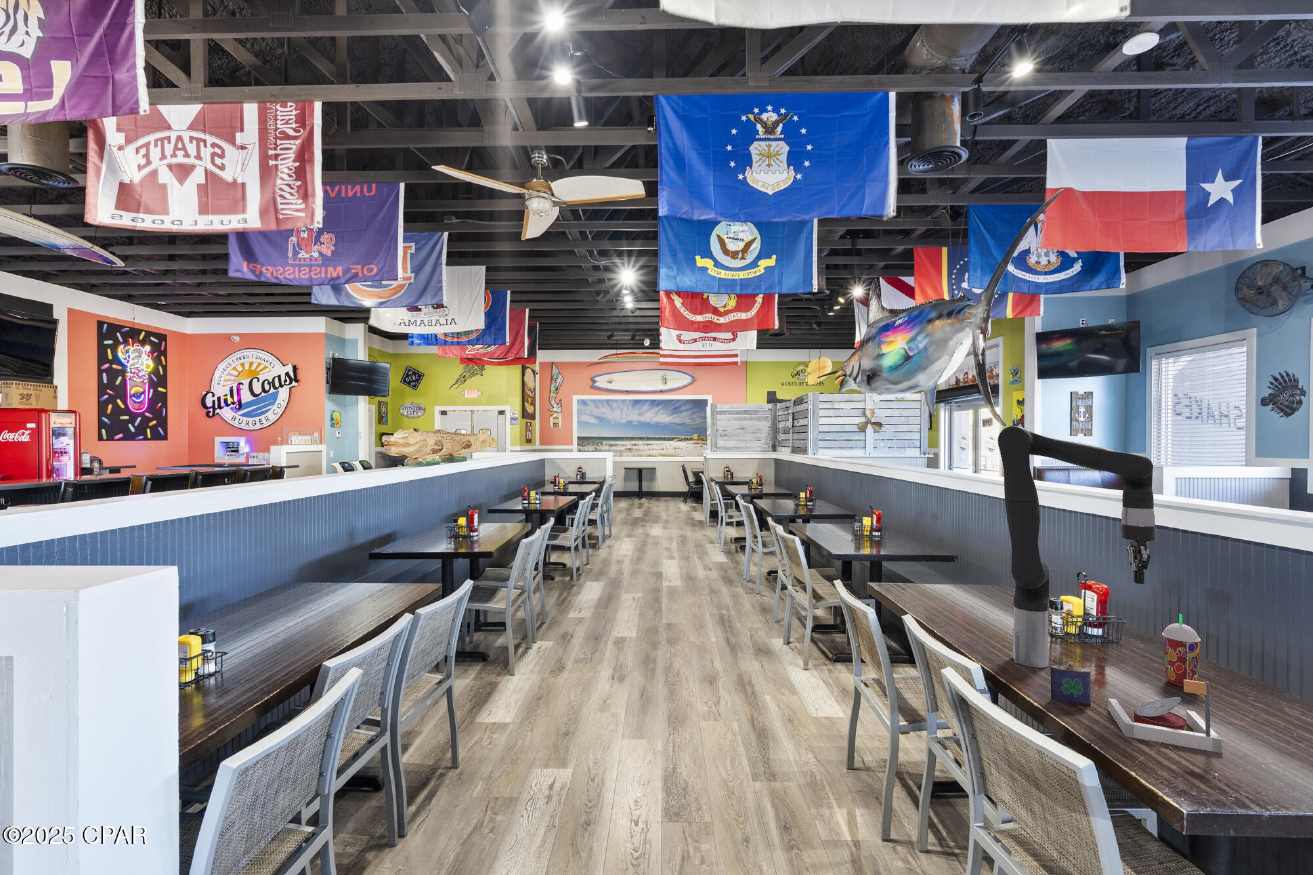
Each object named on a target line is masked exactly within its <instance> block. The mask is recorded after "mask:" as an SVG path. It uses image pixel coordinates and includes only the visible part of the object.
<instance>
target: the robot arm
mask: <svg viewBox="0 0 1313 875" xmlns="http://www.w3.org/2000/svg"><path fill="white" fill-rule="evenodd" d="M997 445H998V449H999V454H1000V457H1001V461H1002V468H1003V487H1004V488H1003V490H1004V492H1003V493H1004V504H1005V514H1006V521H1007V528H1008V533H1009V538H1010V544H1011V568H1010V569H1011V570H1010V571H1011V572H1010V573H1011V577H1012V578H1013V580H1014V582H1015V591H1014V596H1013V628H1012V658H1013V661H1014V663H1015V664H1019V665H1022V666H1026V667H1030V668H1032V667H1033V668H1041V669H1042V668H1047V667H1049V601H1050V571H1049V567H1048V565H1047V564H1046V563H1045V561H1044V560H1042V559H1041V555H1040V548H1039V534H1040V526H1041V525H1040V524H1041V509H1040V500H1039V495H1038V494H1039V493H1038V490H1037V486H1036V483H1035V480H1034V477H1033V474H1032V472H1031V464H1030V461H1031V460H1030V456H1032V455H1033V456H1039V457H1045V458H1050V459H1053V460H1058V461H1061V462H1064V463H1068V464H1071V465H1074V466H1079V467H1082V468H1087V469H1091V470H1095V471H1102V472H1108V473H1111V474H1114V475H1118V476H1122V482H1123V490H1122V499H1121V500H1122V509H1121V538H1122V539H1124V540H1128V541H1129V542H1130V543H1129V545H1128V546H1127V548H1126V551H1127V556H1128V560H1129V565H1130V567H1131V569H1132V577H1133V578H1132V579H1133V580H1132V581H1133V583H1135V584H1136V585H1137V584H1138V585H1144V584H1145V572H1146V571H1148V567H1149V565H1150V561H1151V557H1152V556H1151V554H1150V548H1149V547H1148V544H1147V542H1155V540H1156V515H1155V510H1154V505H1155V504H1154V502H1155V501H1154V500H1155V499H1154V492H1153V479H1154V478H1153V475H1154V474H1153V473H1154V464H1153V462H1152V460H1151V459H1150V458H1149V457H1147V456H1146V455H1142V454H1136V453H1130V452H1124V451H1118V450H1113V449H1111V448H1110V449H1109V448H1107V447H1104V446H1099V445H1094V444H1088V443H1082V442H1076V441H1070V440H1064V439H1057V438H1053V437H1049V436H1045V435H1042V434H1039V433H1035V432H1033V431H1031V430H1028V429H1026V428H1025V427H1023V426H1018V425H1010V426H1007V427H1005V428H1003V429H1002V430H1001V431H1000V432H999V434H998V436H997Z"/></svg>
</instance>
